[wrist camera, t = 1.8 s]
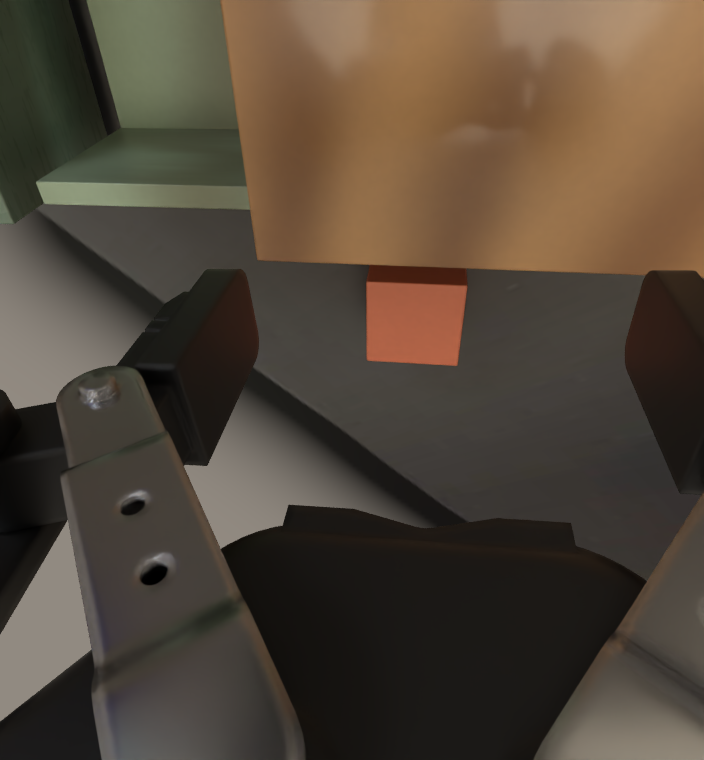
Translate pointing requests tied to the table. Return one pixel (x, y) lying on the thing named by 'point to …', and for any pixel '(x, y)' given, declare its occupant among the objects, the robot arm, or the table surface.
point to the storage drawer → (118, 108)
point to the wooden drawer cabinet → (473, 132)
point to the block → (415, 314)
